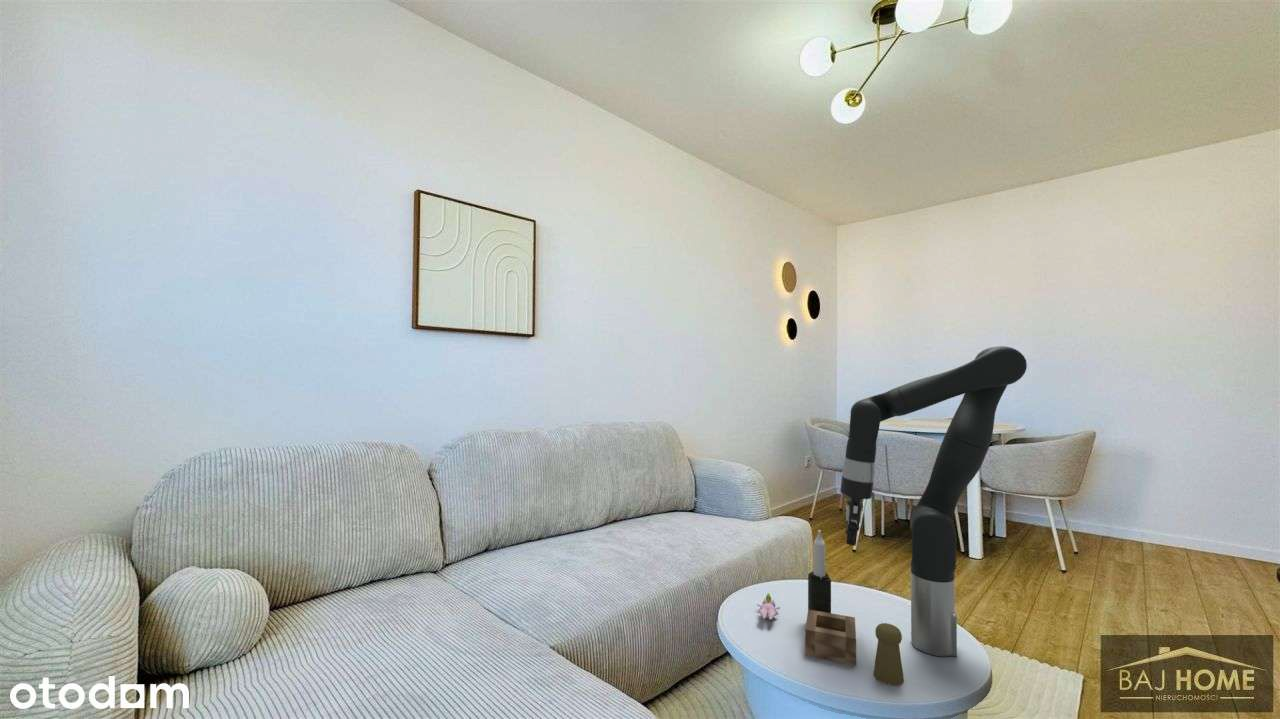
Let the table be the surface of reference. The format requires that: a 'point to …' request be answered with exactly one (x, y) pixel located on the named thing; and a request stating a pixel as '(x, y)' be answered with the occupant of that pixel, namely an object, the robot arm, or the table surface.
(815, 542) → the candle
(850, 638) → the box
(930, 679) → the table surface
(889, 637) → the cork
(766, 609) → the pink rainbow-tailed figurine
